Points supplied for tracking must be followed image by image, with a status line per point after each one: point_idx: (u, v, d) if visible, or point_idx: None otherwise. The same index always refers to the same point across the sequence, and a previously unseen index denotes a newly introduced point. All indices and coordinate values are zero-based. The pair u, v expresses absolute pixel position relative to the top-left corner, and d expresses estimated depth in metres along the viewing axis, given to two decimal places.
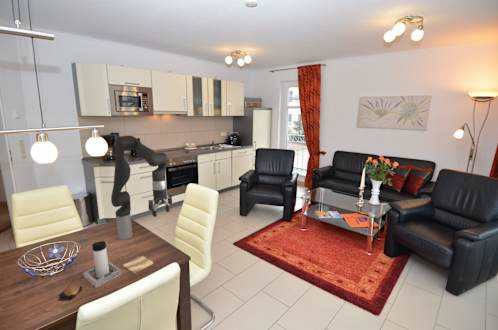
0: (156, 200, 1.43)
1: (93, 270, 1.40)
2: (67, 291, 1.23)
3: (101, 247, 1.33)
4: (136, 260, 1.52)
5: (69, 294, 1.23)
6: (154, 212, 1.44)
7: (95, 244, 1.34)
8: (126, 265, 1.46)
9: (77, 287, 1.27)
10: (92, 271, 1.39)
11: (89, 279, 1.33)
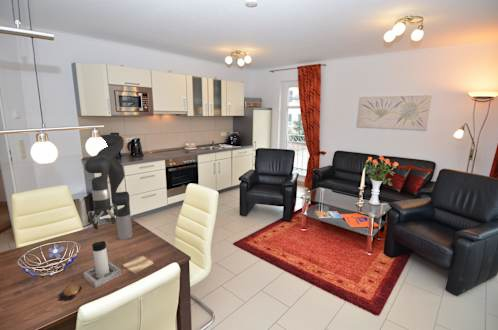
0: (97, 211, 1.29)
1: (93, 270, 1.40)
2: (67, 291, 1.23)
3: (101, 247, 1.33)
4: (136, 260, 1.52)
5: (69, 294, 1.23)
6: (95, 225, 1.29)
7: (95, 244, 1.34)
8: (126, 265, 1.46)
9: (77, 287, 1.27)
10: (92, 271, 1.39)
11: (89, 279, 1.33)
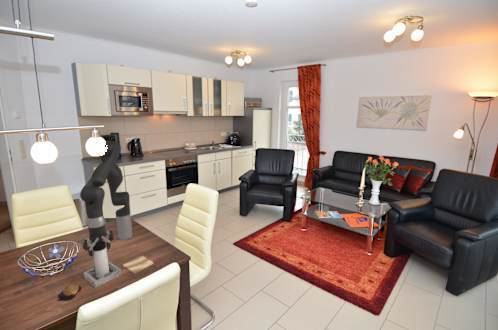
0: (92, 238, 1.30)
1: (93, 270, 1.40)
2: (66, 291, 1.23)
3: (101, 247, 1.33)
4: (136, 260, 1.52)
5: (69, 294, 1.23)
6: (90, 252, 1.31)
7: (95, 244, 1.34)
8: (126, 265, 1.46)
9: (76, 287, 1.27)
10: (92, 271, 1.39)
11: (89, 279, 1.33)
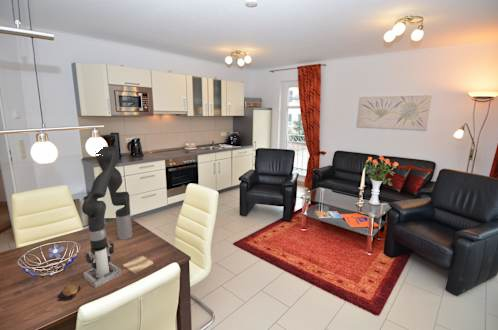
0: (93, 251, 1.32)
1: (93, 270, 1.40)
2: (66, 291, 1.23)
3: (101, 247, 1.33)
4: (136, 260, 1.52)
5: (69, 294, 1.23)
6: (93, 264, 1.33)
7: None
8: (126, 265, 1.46)
9: (76, 287, 1.27)
10: (92, 271, 1.39)
11: (89, 279, 1.33)
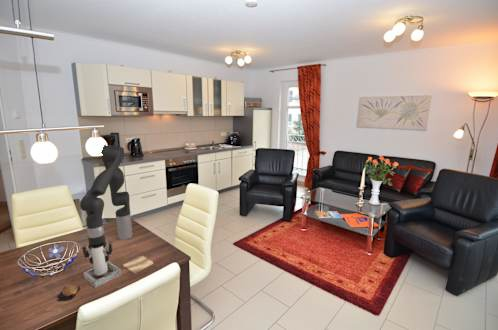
0: (90, 247, 1.33)
1: (93, 270, 1.40)
2: (66, 291, 1.23)
3: (95, 245, 1.32)
4: (136, 260, 1.52)
5: (69, 294, 1.23)
6: (90, 259, 1.35)
7: None
8: (126, 265, 1.46)
9: (75, 287, 1.27)
10: (92, 271, 1.39)
11: (89, 279, 1.33)
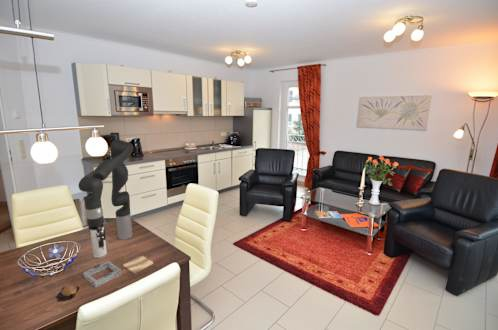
0: None
1: (93, 270, 1.40)
2: (65, 291, 1.23)
3: (90, 227, 1.30)
4: (136, 260, 1.52)
5: (69, 294, 1.23)
6: None
7: None
8: (126, 265, 1.46)
9: (74, 287, 1.27)
10: (92, 271, 1.39)
11: (89, 279, 1.33)
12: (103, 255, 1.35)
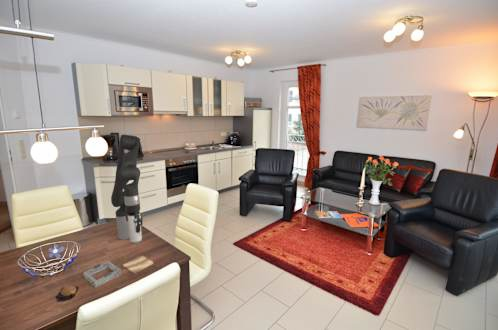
0: (128, 212, 1.43)
1: (93, 270, 1.40)
2: (65, 291, 1.23)
3: (128, 213, 1.39)
4: (136, 260, 1.52)
5: (69, 294, 1.23)
6: None
7: None
8: (126, 265, 1.46)
9: (74, 287, 1.27)
10: (92, 271, 1.39)
11: (89, 279, 1.33)
12: (139, 240, 1.44)
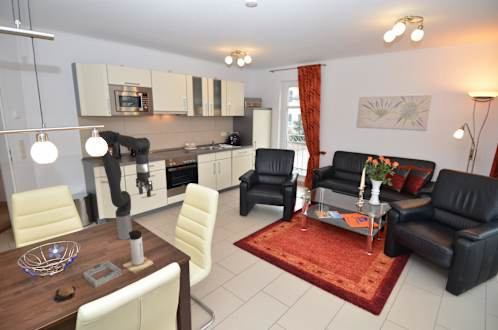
0: (139, 180, 1.59)
1: (93, 270, 1.40)
2: (63, 292, 1.23)
3: (130, 237, 1.42)
4: None
5: (68, 294, 1.23)
6: (139, 189, 1.61)
7: (135, 232, 1.46)
8: (126, 265, 1.46)
9: (71, 287, 1.27)
10: (92, 271, 1.39)
11: (89, 279, 1.33)
12: (141, 262, 1.47)
